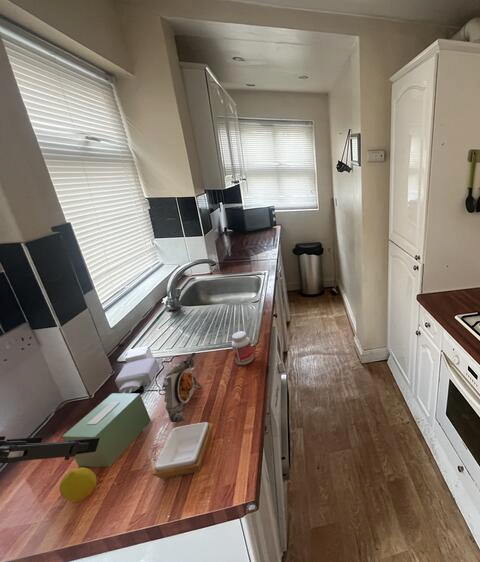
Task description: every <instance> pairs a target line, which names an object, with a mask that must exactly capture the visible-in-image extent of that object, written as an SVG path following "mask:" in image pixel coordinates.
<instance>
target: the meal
mask: <svg viewBox="0 0 480 562" xmlns="http://www.w3.org/2000/svg"><path fill="white" fill-rule="evenodd" d="M195 356H196V352H192V353H191V354H190V355H189V356H187V358H185V359H181V361H180V362H177V363H176V364H175V365H174V366H173V367H172V368H171V370H170V371H169V372H168V373H167V374H165V376H164V378H163V383H162V387H161V389H162V391H164V400H163V402H165V403H166V404H165V410H166V411H167V414H168V416H169V417H168V418H169V421H170V422H171V423H174V424H175V423H176V424H177V423H181V422H186V419H185V418H184V417H183V416H182V415H183V414H184V413H185V410H184V405H185V404H187V403H188V402H190V399H191V398H192V396H193V395H194V390H196V389H198V388H199V387H202V385H201V383H200V381H199V382H198V380H197V377H196V376H195V375H193V370H192V368H193V366H194V365H195V362H194V357H195Z"/></svg>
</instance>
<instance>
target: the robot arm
mask: <svg viewBox="0 0 480 562" xmlns="http://www.w3.org/2000/svg"><path fill="white" fill-rule="evenodd" d="M6 437H7V436H5V435H1V436H0V464H12V463H18V462H24V461H34V460H35V461H36V460H37V461H38V460H46V459H57V458H64V461H69V460H70V458H74V457H73V456H76V454H83V453H90V452H96V449H97V446H98V442H99V439H100V438H91V439H81V440H70V441H68V442H65V441H57V442H56V441H54V442H53V441H52V442H42V441H43V437H44V436H35V437H33V436H32V437H22V438H10V439H9V438H8V439H6Z"/></svg>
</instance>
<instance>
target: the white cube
mask: <svg viewBox="0 0 480 562" xmlns="http://www.w3.org/2000/svg"><path fill="white" fill-rule="evenodd" d="M147 358H154V355H153V352H152V350H151V347H150V345H142V346H139V347H134V348H131V349H128V351H127V353H126V355H125V357H124V360H125V364H126V363H128V362H132V361H137V360H142V359H147Z"/></svg>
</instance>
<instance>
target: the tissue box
mask: <svg viewBox="0 0 480 562" xmlns="http://www.w3.org/2000/svg"><path fill="white" fill-rule="evenodd" d="M151 422H152V420H151V417H150V415H149V412H148V410H147V407H146V405H145V402H144V400H143V397H142V395H141V393H120V392H118V393H117V392H115V393H114V392H113V393H110V394H109V395H108V396H107V397H106V398H105V399H104V400H102V401H101V402H100V403H99V404H98V405H97V406H96V407H94V408H93V409H92V410H91V411H90V412H88V413H87V414H86V415H85V416H84V417H83V418H82V419H80V420H79V421H78V422H77V423H76V424H74V425H73V427H71V428H69V430H68V431H66V432H65V433H64V434H63V435H62V436H61V437H62V439H63V442H68V441H70V440H81V439H91V438H100V439H99V442H98V446H97V449H96V452H90V453H83V454H76V456H73V457H72V458H73V459H74V460H75V462H76V464H77V465H78V467H94V468H96V467H97V468H111V467H112V465H114V463H115V462H116V461H117V460H118V459H119V458H120V457H121V455H122V454H123V453H124V452H125V451H126V450H127V449H128V448H129V446H131V444H132V443H133V442H134V441H135V440H136V439H137V438H138V436H140V434H142V432H143V431H144V430H145V428H146V427H147V426H148V425H149V424H150V423H151Z"/></svg>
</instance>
